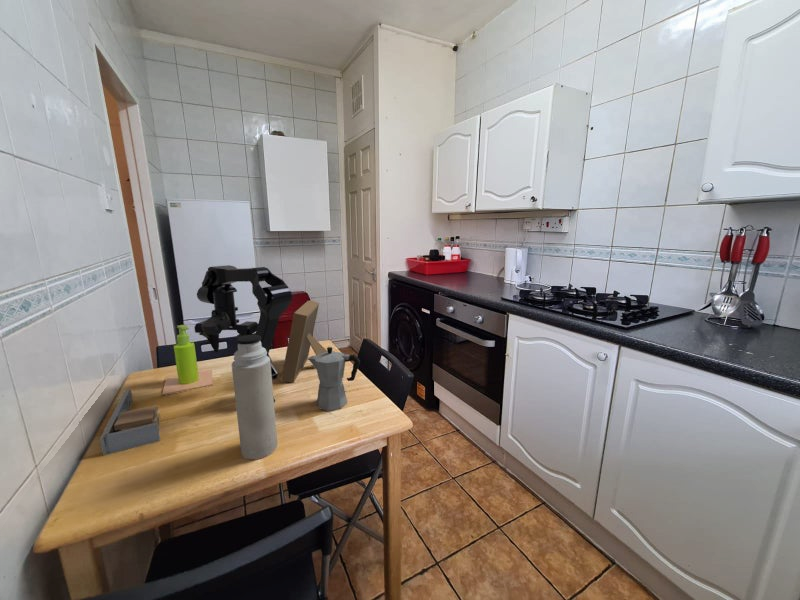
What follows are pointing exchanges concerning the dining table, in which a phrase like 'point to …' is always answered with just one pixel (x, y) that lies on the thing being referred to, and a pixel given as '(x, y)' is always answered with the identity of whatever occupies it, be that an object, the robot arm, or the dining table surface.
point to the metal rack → (126, 438)
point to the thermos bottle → (254, 398)
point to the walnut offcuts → (137, 418)
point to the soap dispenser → (185, 358)
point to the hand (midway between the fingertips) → (229, 352)
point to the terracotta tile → (174, 386)
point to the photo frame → (301, 341)
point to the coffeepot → (332, 378)
